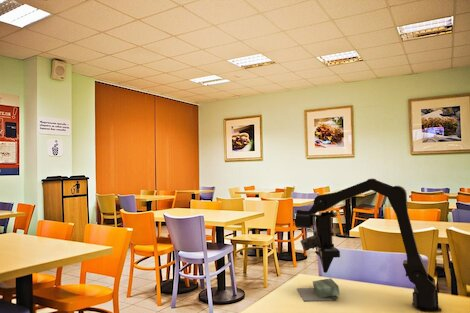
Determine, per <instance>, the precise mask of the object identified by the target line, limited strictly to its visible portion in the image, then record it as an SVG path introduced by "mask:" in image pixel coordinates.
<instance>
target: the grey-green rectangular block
mask: <svg viewBox="0 0 470 313" xmlns="http://www.w3.org/2000/svg"><path fill="white" fill-rule="evenodd" d="M312 286H313V288H314V290H315V291H316V293H317V294H318V296H319V297H320V298H323V297H329V296H335V297H336V296H340V295H341V293H340V288H339V285H338V284H337V282H335V281H334V280H333V278H324V279H318V280H313V281H312Z"/></svg>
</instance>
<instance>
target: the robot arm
mask: <svg viewBox="0 0 470 313" xmlns="http://www.w3.org/2000/svg"><path fill="white" fill-rule="evenodd" d="M371 191H373V192H375V193H378V194H380V195H382V196H384V197H386V198H387V199H388V201H389V204H390V207H391V208H392V209H393V212H394V214H395V216H396V219H397V223H398V228H399V232H400V235H401V239H402V244H403V246H404V250H405V254H406V259H404V260H403V263H402V266H403V268H404V271H405V277H408V280H409V282H411V283H412V284H413V285H414V287H413V291H412V302H411V305H412V306H414V307H415V308H416V309H418V310H419V311H420V312H441V311H442V308H441V307H439V292H438V291H439V290H438V289H437V288H436V287H437V285H436V279H435V278H434V277H433V276H432V275H431V274H430V273H428V272H429V271H428V268H427V267H426V265H425V262H424V260H423V259H422V257H421V254H420V252H419V250H418V249H419V248H418V245H417V242H416V241H417V240H416V238H415V233H414V230H413V226H412V222H411V220H410V214H409V209H408V193H407V190H406V189H405V187H403V186H400V185H395V186H393V185H390V184H388V183H385V182H382V181H380V180H377V179H376V178H372V177H371V178H368V179H367V180H365V181H363V182H358V183H357V184H355V185H352V186H349V187H347V188H344V189H341V190H338V191H336V192H335V191H334V192H330V193H325V194H319V195H317V196H315V197H314V199H313V205H312V206H311V207H310V208H309V210H306V209H296V212H295V216H294V225H295V226H294V227H295V228H296V229H313V227H315V231H314V232H313V235H312V236H309V237H308V236H307V237H306V238H304V239H301V240H300V244H301V246H302V249H303V250H304V251H309V250H310V249H312V250H314V249H315V248H316V250H315V251H314V254H316V255H317V256H318V257H319V260H320V264H321V268H322V272H323V273H324V274H327V273H328V271H329V269H330V266H331V264H332V262H333V260H334V258H341V251H340V250H339V249H338V248H336V247H335V244H334V243H333V236H335V234H334V232H333V222H332V221H333V219H332V218H337V217H338V214H336V212H335V211H334V209H332V210H330V209H331V208H333V207H335V206H336V205H338V204H339V203H341V202H343V201H345V200H348V199H351V198H353V197H357V196H359V195H362V194H364V193H367V192H371ZM327 210H330V211H327ZM326 211H327V212H326ZM319 212H320V214H317V213H319Z"/></svg>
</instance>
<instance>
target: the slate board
mask: <svg viewBox="0 0 470 313" xmlns="http://www.w3.org/2000/svg"><path fill="white" fill-rule="evenodd" d="M296 290H297V292H298V294H299V295H300V298H301V299H302V301H303V302H337V297H336V295H335V296H329V297H323V298H320V297H319V296H318V294H317V293H316V291H315V290H314V287H297V288H296Z"/></svg>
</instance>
